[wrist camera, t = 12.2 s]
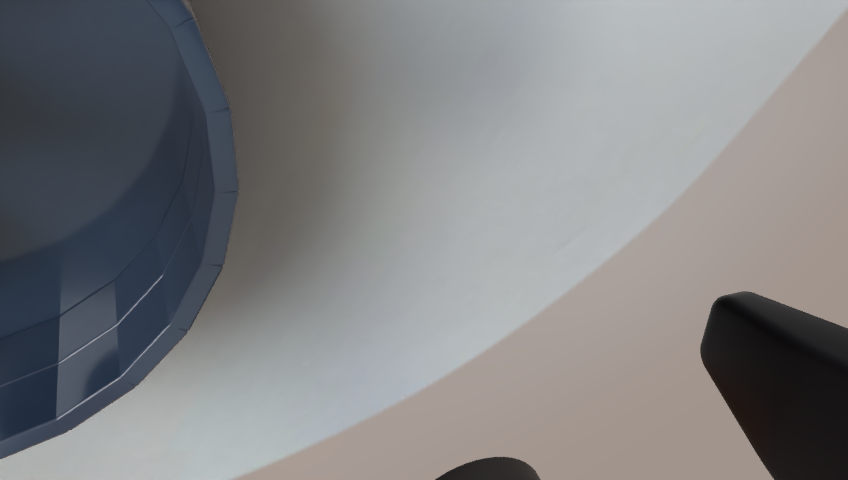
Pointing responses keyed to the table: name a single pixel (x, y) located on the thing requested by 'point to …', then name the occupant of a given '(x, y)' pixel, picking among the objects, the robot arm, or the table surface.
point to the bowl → (103, 201)
